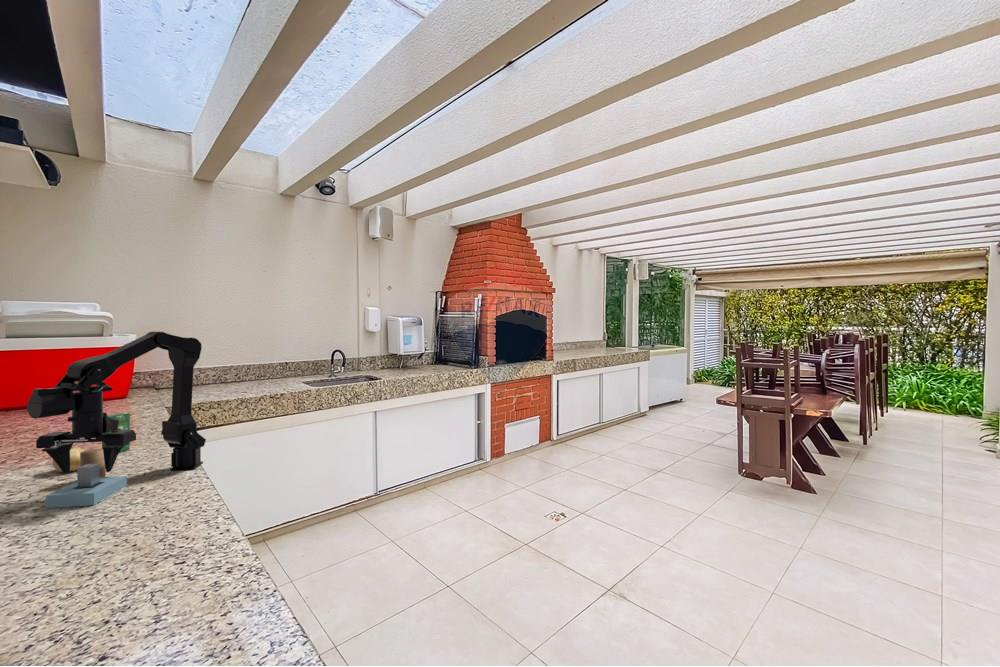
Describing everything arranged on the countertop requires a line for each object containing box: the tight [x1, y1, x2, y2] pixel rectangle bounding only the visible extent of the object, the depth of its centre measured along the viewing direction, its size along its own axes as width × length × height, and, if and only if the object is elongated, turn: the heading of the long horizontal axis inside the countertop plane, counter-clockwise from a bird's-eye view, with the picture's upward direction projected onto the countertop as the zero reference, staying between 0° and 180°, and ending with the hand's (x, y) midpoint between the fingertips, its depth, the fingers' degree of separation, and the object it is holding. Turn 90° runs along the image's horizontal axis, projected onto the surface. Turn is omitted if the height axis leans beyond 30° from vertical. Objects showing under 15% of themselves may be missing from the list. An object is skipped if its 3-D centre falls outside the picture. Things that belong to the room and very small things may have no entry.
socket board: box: [45, 475, 128, 509], centre depth 112 cm, size 10×12×3 cm
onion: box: [52, 445, 85, 473], centre depth 132 cm, size 8×8×7 cm
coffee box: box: [101, 412, 131, 453], centre depth 149 cm, size 8×3×13 cm, turn 178°
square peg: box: [76, 464, 100, 489], centre depth 112 cm, size 3×3×8 cm
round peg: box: [80, 448, 107, 477], centre depth 124 cm, size 5×5×8 cm
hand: (88, 472), depth 111 cm, fingers open, 9 cm apart
